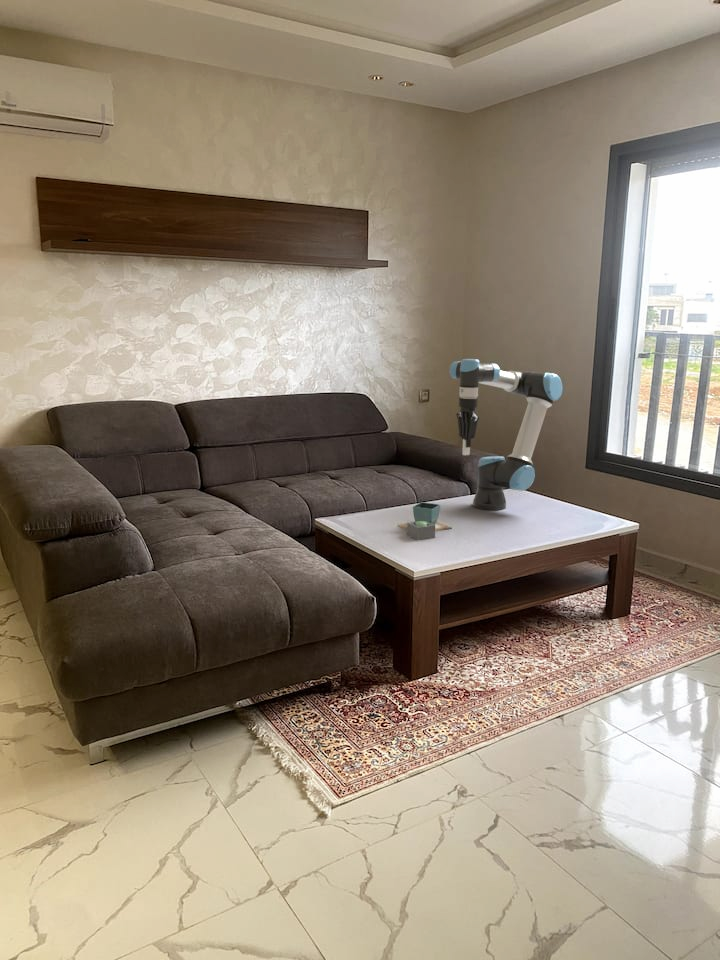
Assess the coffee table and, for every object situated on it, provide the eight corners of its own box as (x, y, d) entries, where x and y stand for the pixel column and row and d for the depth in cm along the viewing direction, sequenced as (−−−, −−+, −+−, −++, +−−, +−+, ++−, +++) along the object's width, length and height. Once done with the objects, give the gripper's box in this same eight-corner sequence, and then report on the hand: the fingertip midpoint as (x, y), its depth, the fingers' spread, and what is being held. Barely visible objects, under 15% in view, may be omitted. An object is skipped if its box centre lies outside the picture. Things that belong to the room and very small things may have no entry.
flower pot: (411, 527, 306) (412, 506, 304) (420, 522, 314) (421, 501, 312) (431, 530, 302) (432, 509, 300) (439, 525, 310) (440, 504, 308)
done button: (422, 532, 300) (423, 520, 299) (428, 534, 296) (429, 523, 295) (413, 533, 298) (413, 521, 297) (419, 536, 294) (419, 524, 293)
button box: (424, 532, 302) (424, 520, 301) (434, 537, 295) (435, 525, 294) (407, 534, 299) (407, 522, 298) (417, 540, 292) (417, 527, 291)
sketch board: (434, 521, 319) (434, 519, 319) (451, 528, 308) (451, 527, 308) (397, 525, 311) (397, 524, 311) (413, 533, 300) (413, 532, 300)
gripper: (451, 396, 309) (449, 452, 314) (469, 399, 298) (467, 458, 303) (467, 395, 312) (464, 451, 317) (485, 398, 301) (482, 456, 306)
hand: (466, 454), depth 310 cm, fingers closed
